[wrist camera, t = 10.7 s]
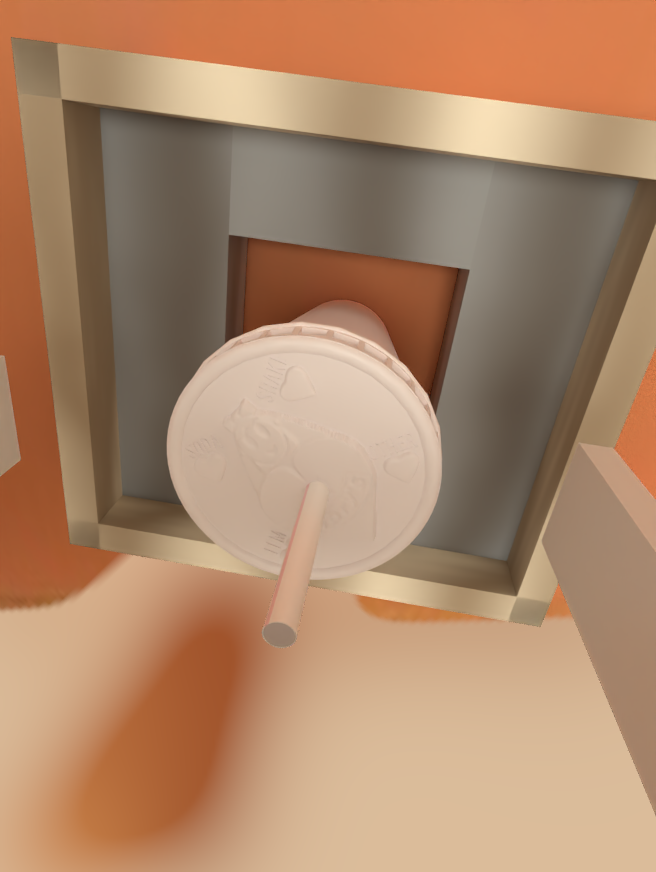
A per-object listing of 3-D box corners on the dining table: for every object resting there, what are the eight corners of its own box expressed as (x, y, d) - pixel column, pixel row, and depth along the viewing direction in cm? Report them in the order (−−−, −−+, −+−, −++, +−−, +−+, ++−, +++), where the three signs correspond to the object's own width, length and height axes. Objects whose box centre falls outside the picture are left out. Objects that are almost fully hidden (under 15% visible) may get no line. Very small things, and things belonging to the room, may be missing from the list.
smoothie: (342, 452, 23) (270, 794, 10) (227, 345, 21) (-20, 591, 9) (462, 350, 20) (561, 638, 8) (341, 221, 19) (221, 318, 6)
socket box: (123, 483, 25) (70, 543, 21) (99, 68, 18) (10, 37, 14) (516, 550, 24) (540, 627, 20) (660, 142, 17) (744, 132, 13)
